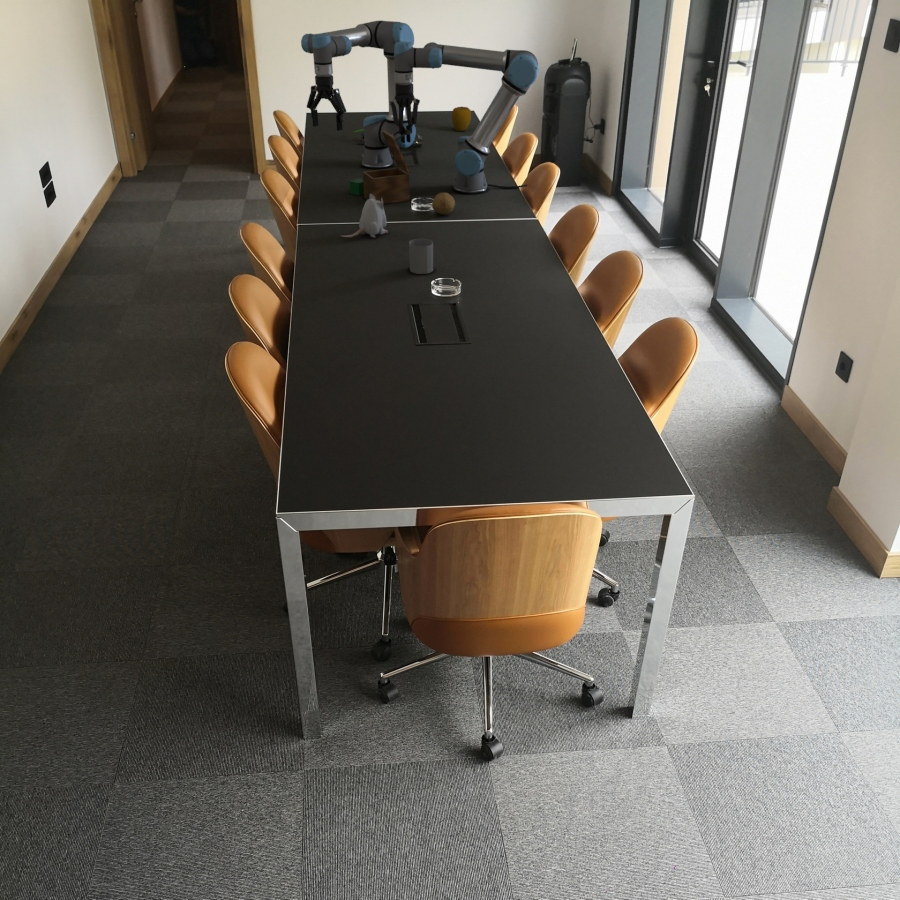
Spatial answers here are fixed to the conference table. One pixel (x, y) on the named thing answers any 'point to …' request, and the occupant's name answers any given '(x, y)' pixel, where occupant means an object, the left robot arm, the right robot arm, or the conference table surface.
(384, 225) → the toy
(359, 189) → the block
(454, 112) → the yellow bell pepper
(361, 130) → the scepter
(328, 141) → the conference table surface
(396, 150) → the lid
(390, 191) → the chest
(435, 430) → the conference table surface
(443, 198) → the potato
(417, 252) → the cup
